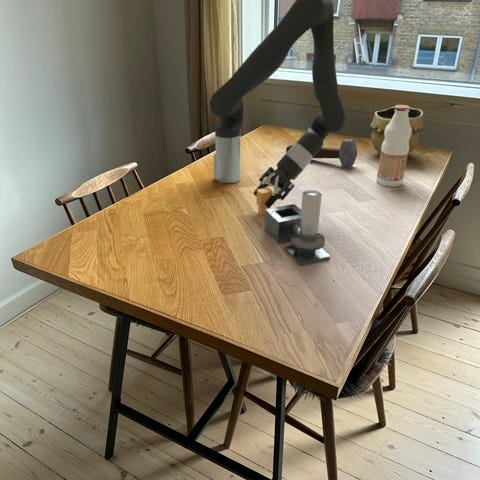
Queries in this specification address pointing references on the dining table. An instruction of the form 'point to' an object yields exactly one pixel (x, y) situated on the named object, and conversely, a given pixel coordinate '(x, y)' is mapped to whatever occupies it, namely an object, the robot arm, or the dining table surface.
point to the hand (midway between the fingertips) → (260, 200)
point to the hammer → (339, 153)
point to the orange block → (263, 199)
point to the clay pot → (384, 119)
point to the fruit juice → (395, 148)
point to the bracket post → (298, 228)
